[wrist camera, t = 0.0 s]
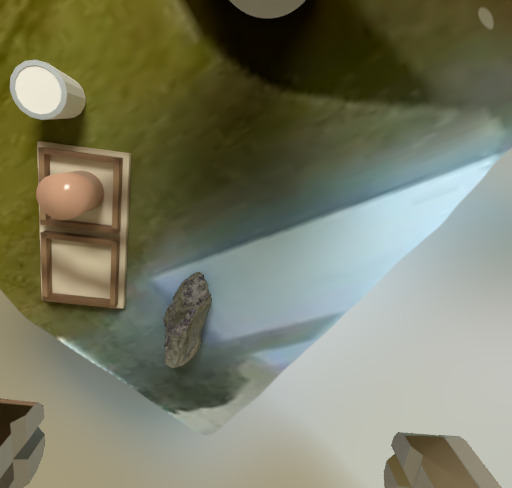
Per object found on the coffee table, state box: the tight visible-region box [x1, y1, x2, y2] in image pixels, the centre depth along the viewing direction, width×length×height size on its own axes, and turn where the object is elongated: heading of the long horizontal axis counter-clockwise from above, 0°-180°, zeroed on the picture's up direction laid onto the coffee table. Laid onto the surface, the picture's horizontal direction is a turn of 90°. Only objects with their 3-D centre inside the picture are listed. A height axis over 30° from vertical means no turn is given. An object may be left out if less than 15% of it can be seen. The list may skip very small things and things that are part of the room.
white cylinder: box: [10, 60, 86, 120], centre depth 46 cm, size 7×7×7 cm
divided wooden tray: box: [37, 141, 131, 309], centre depth 54 cm, size 25×13×2 cm, turn 172°
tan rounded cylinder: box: [36, 170, 104, 220], centre depth 49 cm, size 6×6×7 cm
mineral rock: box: [164, 272, 212, 368], centre depth 55 cm, size 13×11×10 cm
